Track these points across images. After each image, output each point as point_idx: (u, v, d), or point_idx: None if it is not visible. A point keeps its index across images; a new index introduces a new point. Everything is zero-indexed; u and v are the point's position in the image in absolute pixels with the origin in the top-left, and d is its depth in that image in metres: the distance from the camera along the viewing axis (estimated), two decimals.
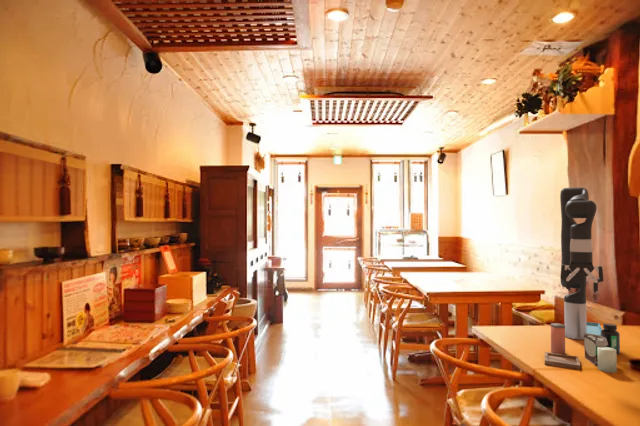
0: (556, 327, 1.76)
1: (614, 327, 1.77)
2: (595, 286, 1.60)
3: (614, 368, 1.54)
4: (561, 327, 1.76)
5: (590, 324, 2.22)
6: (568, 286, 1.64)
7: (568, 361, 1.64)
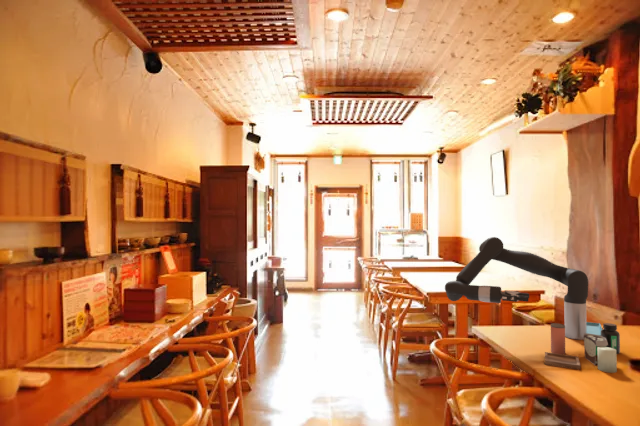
0: (556, 327, 1.76)
1: (614, 327, 1.77)
2: (522, 300, 1.80)
3: (614, 368, 1.54)
4: (561, 327, 1.76)
5: (591, 324, 2.22)
6: None
7: (568, 361, 1.64)
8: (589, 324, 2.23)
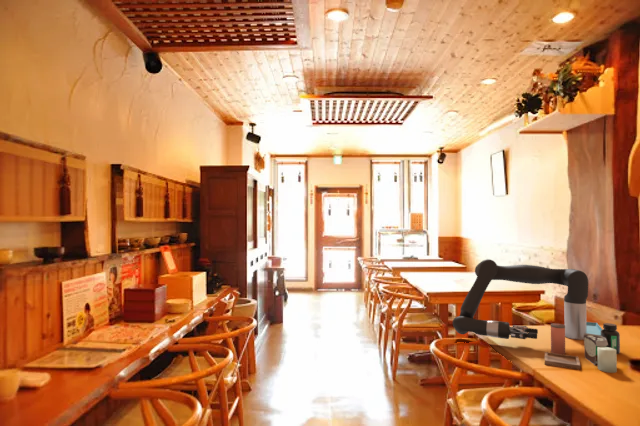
0: (556, 327, 1.76)
1: (614, 327, 1.77)
2: (530, 337, 1.79)
3: (614, 368, 1.54)
4: (561, 327, 1.76)
5: (588, 324, 2.23)
6: (533, 333, 1.87)
7: (568, 361, 1.64)
8: (586, 324, 2.23)
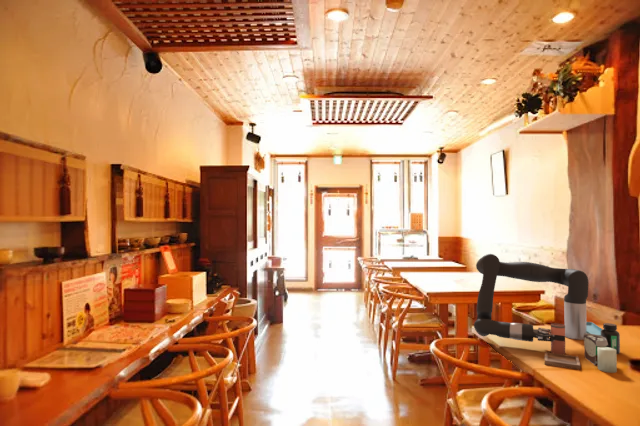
0: (556, 327, 1.76)
1: (614, 327, 1.77)
2: (558, 340, 1.75)
3: (614, 368, 1.54)
4: (561, 327, 1.76)
5: None
6: None
7: (568, 361, 1.64)
8: None
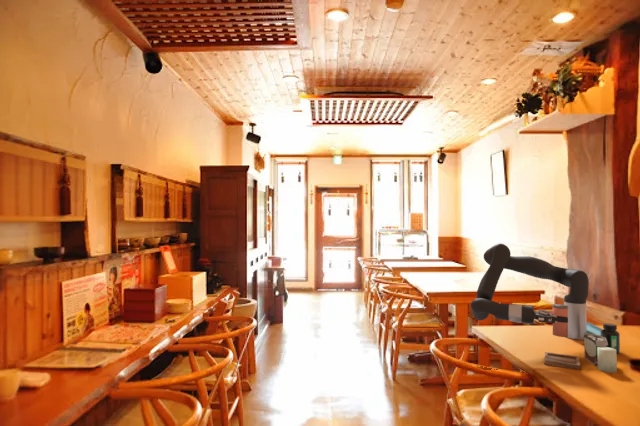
0: (558, 308, 1.64)
1: (614, 327, 1.77)
2: (561, 321, 1.63)
3: (614, 368, 1.54)
4: (564, 308, 1.63)
5: None
6: None
7: (568, 361, 1.64)
8: None
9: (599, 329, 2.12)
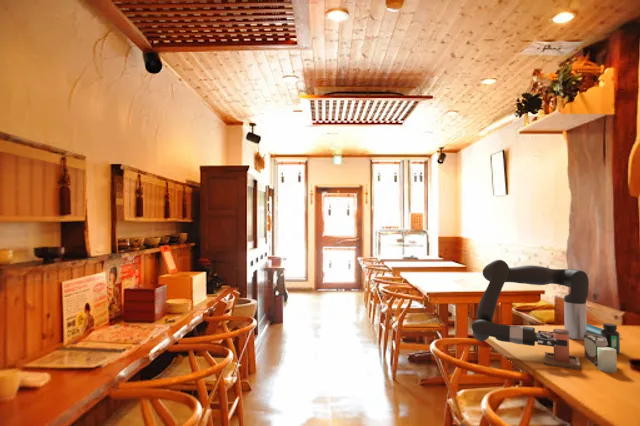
0: (559, 334, 1.64)
1: (614, 327, 1.77)
2: (560, 345, 1.62)
3: (614, 368, 1.54)
4: (565, 333, 1.63)
5: None
6: None
7: None
8: None
9: (598, 329, 2.13)
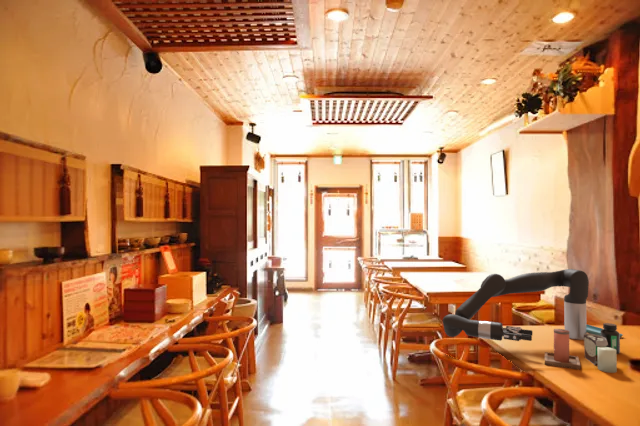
0: (559, 333, 1.64)
1: (614, 327, 1.77)
2: (525, 339, 1.68)
3: (614, 368, 1.54)
4: (565, 333, 1.63)
5: None
6: (527, 334, 1.75)
7: None
8: None
9: (596, 328, 2.14)
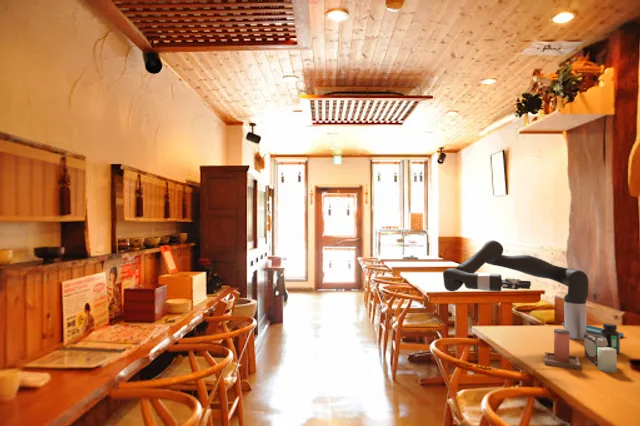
0: (559, 333, 1.64)
1: (614, 327, 1.77)
2: (523, 288, 1.71)
3: (614, 368, 1.54)
4: (565, 333, 1.63)
5: None
6: None
7: None
8: None
9: (595, 328, 2.14)
